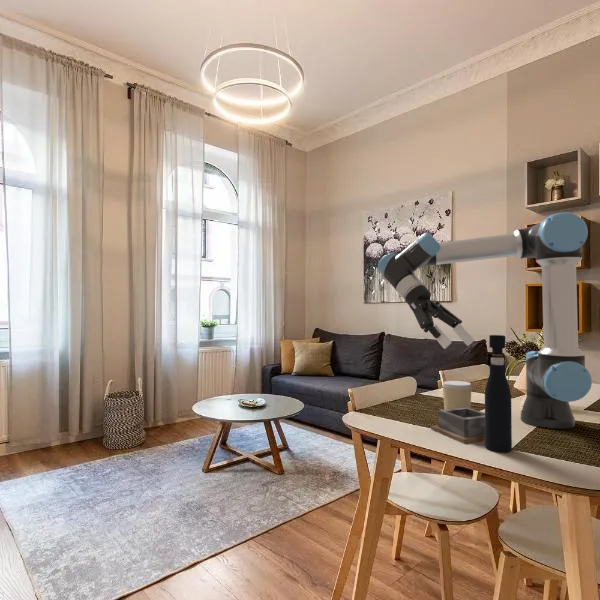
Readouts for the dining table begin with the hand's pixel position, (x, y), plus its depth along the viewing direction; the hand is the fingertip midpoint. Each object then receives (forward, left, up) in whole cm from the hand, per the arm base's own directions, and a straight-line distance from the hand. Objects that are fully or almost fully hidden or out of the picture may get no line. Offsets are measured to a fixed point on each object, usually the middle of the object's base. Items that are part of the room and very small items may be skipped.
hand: (460, 344), depth 118 cm
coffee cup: (-14, -18, -27) cm, 36 cm away
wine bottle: (-4, +10, -27) cm, 29 cm away
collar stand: (-5, -4, -27) cm, 28 cm away
